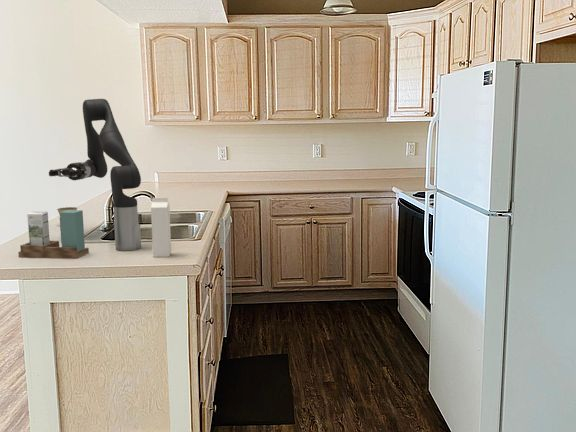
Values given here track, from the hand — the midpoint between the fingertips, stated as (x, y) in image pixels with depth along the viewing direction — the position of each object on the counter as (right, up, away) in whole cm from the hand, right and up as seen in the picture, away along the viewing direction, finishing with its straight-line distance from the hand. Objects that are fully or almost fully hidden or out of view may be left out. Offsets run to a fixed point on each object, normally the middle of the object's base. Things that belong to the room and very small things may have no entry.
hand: (59, 173), depth 236 cm
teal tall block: (+12, -30, -17) cm, 37 cm away
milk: (+46, -33, -17) cm, 59 cm away
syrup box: (-1, -30, -15) cm, 34 cm away
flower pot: (-15, -22, +49) cm, 56 cm away
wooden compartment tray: (+4, -32, -16) cm, 36 cm away
